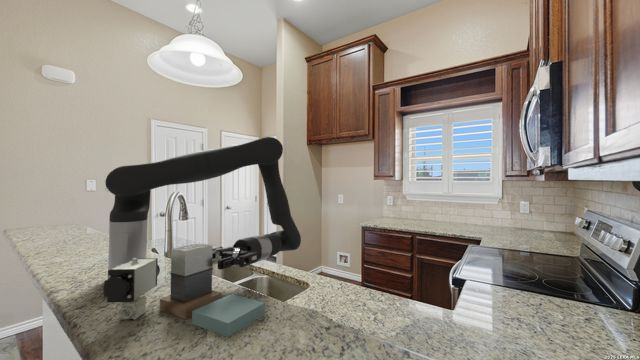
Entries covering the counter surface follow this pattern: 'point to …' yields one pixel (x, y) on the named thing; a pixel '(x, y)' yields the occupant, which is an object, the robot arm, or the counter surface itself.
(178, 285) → the block
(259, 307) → the stand
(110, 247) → the robot arm
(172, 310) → the stand
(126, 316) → the pneumatic valve
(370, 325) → the counter surface
